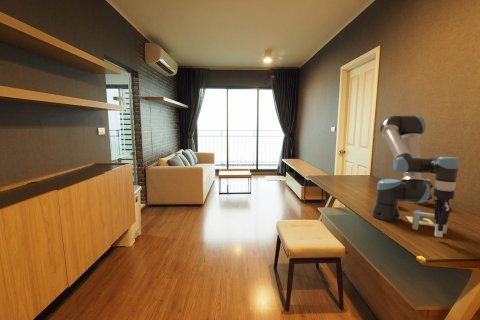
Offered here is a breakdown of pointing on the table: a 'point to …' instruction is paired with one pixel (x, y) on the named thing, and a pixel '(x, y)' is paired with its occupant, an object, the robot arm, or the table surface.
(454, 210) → the table surface
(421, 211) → the ball
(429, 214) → the bridge
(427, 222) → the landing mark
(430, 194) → the apothecary jar
